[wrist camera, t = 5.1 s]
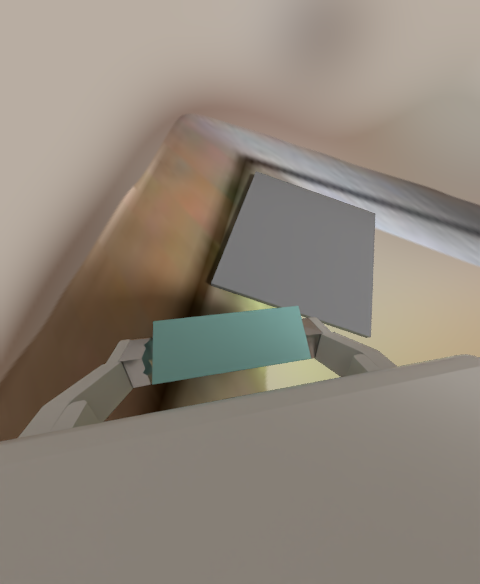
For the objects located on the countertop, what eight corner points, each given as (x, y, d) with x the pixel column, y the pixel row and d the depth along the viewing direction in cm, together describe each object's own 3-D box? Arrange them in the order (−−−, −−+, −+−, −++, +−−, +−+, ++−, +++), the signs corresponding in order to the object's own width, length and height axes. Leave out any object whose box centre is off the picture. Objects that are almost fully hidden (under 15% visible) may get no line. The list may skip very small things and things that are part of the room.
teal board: (259, 355, 16) (311, 358, 7) (189, 365, 14) (152, 384, 6) (255, 330, 16) (298, 305, 8) (188, 338, 15) (153, 321, 7)
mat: (371, 216, 23) (375, 213, 22) (365, 337, 17) (370, 337, 17) (254, 175, 23) (256, 171, 22) (211, 285, 17) (211, 283, 16)
